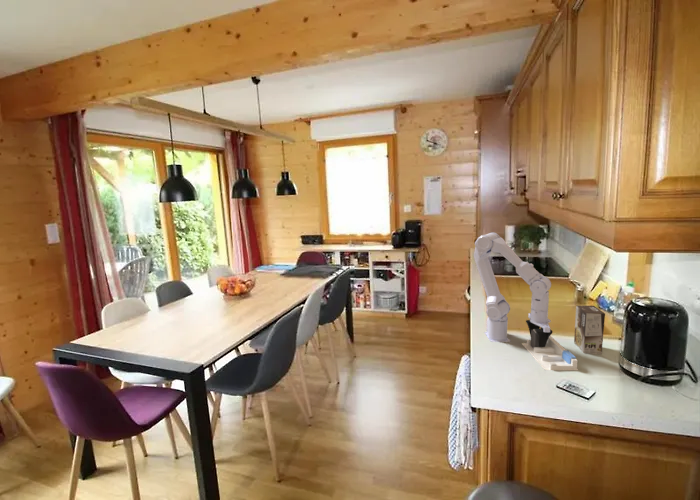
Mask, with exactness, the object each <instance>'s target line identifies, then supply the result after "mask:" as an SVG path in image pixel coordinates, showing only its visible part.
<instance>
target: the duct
mask: <svg viewBox="0 0 700 500" xmlns="http://www.w3.org/2000/svg"><path fill="white" fill-rule="evenodd" d="M521 344H522V346H523V347H524V348H525V349H526V350H527V352H528V353H529V354H531V356H532V357H533V359H535V361H536V363H538V364H539V366H540V367H542V369H543V370H544V371H579V369H578V359H577V356H575V355H574V354H573V353H572V352H570V350H569V349H568V350H567V349H565V347H563V346H562V345H561V344H560V342H558V341H557V340H556V339H555V338H553V336H552V335H550V336H549V338H548V340H547V343H546V346H545V347H534V349H533V348H532V347H531V346H530V344H531V339H527V340H526V342H521Z"/></svg>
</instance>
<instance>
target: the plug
mask: <svg viewBox="0 0 700 500" xmlns="http://www.w3.org/2000/svg"><path fill="white" fill-rule="evenodd" d="M530 340H531V344H530V346H531V347H532V348H533V349H534V347H539V346H538V338H537V334H536V331H535V329H533V330H531V336H530Z"/></svg>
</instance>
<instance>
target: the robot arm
mask: <svg viewBox="0 0 700 500" xmlns="http://www.w3.org/2000/svg"><path fill="white" fill-rule="evenodd" d="M474 246H475V247H474V252H473V258H474V259H473V260H474V262H475V264H476V265H475V266H476V268H477V271H478V274H479V277H480V280H481V283H482V285H483V289H484V291H485V295H486V302H485V306H486V316H487V319H486V331H484V332H483V333H484V335H485V336H486V337H487V339H488V340H489V341H490V342H492V343H493V342H495V343H499V342H500V343H501V342H502V343H503V342H505V343H506V342H507V343H508V342H511V339H510V338H509V337H508V322H509V321H508V314H509V313H510V311H511V306H510V304H509V302H508V301H507V300H506V298H505V296H504V295H503V294H502V293H501V292H500V288H499V285H498V283H497V279H496V276H495V273H494V271H493V268H492V264H491V261H490V259H489V256H491V254H492V253H496V254H497V253H498V254H500V255H502V257H503V258H505V259H506V260H507V261H508V262H509V263H510V264H511V265H512V266H514V267H515V273H516V274H517V275H518V276H519V277H520V278H521V279H522V280H524V282H525V283H526V284H527V285H529V290H530V292H531V300H530V301H531V302H530V303H531V305H530V312H529V313H528V319H526V320H525V324H526V325H527V328H528V331H529V336H530V337H531V330H533V329H535V331H536V334H537V338H538V346H539V347H545V346H546V343H547V340H548V338H549V336H552V334H553V332H554V331H553V330H552V329H551V327H550V325H549V323H551V322H552V321H551V319H549V302H550V298H549V296H550V295H549V294H550V293H549V292H550V291H549V290H551V287H552V281H551V280H550V278H549V277H548V276H544V275H543V274H542V273H540V272H539V271H538V270H536V269H537V268H535V267H534V264H533V263H529V261H523V260H522V259H521V258H520V256H519V255H517V254H516V252H515V251H514V250H513V249H512V248H511V247H510V246H509V245H508V244H507V242H506V241H505V239H504V238H503V237H501V236H500V235H499V234H498V233H496V232H489V233H487V234H482V235H480V236H479V237H477V239H476V240H475V242H474Z"/></svg>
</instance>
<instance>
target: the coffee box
mask: <svg viewBox="0 0 700 500" xmlns="http://www.w3.org/2000/svg"><path fill="white" fill-rule="evenodd" d="M605 316H606V313H605V312H604V311H602V310H601V309H599V308H598V307H596V306H595V305H576V306H575V320H574V321H575V323H574V337H573V338H574V340H573V344H574V345H575V346H576V347H577V348H578V349H579V350H580V351H581V352H582V353H583V354H590V355H591V354H593V355H595V354H596V355H598V354H599V355H602V353H603V344H604V343H603V342H604V341H603V340H604V333H605V332H604V330H605V322H606V321H605V319H606V317H605Z"/></svg>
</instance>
